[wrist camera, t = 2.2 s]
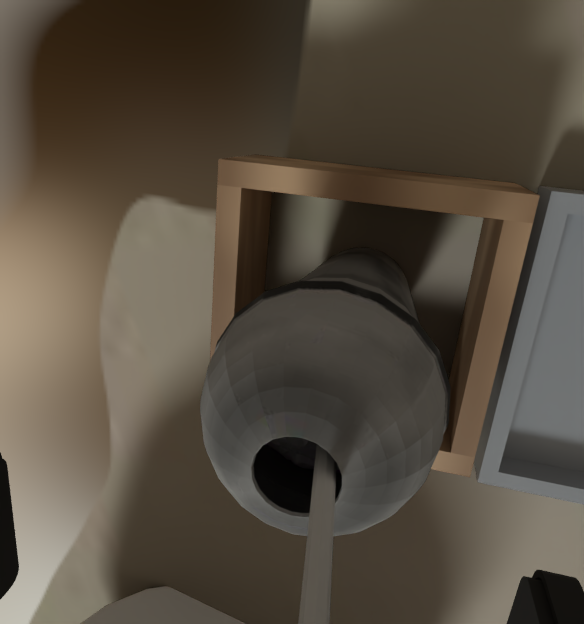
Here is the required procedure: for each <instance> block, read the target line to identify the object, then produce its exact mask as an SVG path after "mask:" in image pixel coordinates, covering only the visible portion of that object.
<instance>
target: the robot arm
mask: <svg viewBox="0 0 584 624" xmlns="http://www.w3.org/2000/svg"><path fill="white" fill-rule="evenodd" d="M16 547H17V546H16V538H15V529H14V521H13V512H12V504H11V495H10V487H9V478H8V470H7V464H6V461H5V460H4V459H2V456H1V453H0V599H1V598H2V597H3V596H4V595H5V594H6V592H7V591H8V590H9V589H10V587H11V586H12V585H13V583H14V581H15V579H16V577H17V574H18V570H19V564H18V555H17V548H16ZM507 624H584V592H583V589H582V587H581V585H580V583H579V581H578V580H577V579H576V578H574V577H569V576H565V575H560V574H556V573H551V572H547V571H542V570H536V571H535V573H534V575H533V577H532V578H530V577H525V576H523V577H522V578H521V581H520V583H519V587H518V590H517V593H516V596H515V599H514V602H513V606H512V609H511V612H510V615H509V618H508V621H507Z"/></svg>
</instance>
